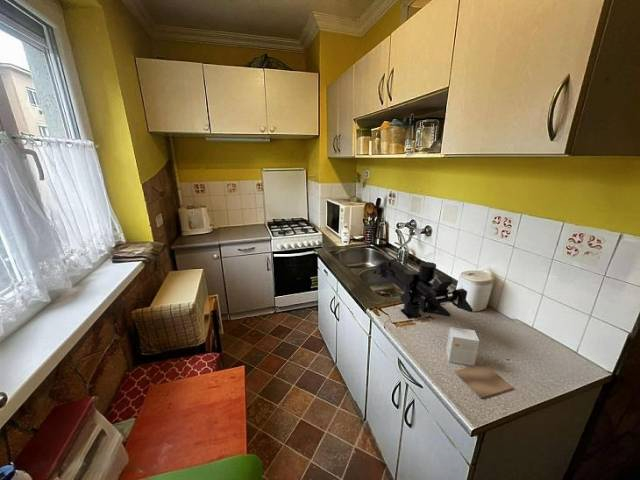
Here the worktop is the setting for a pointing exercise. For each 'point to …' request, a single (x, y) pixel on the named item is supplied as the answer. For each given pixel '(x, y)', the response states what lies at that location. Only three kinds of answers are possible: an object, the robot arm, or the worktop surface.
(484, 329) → the worktop surface
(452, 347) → the small box
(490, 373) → the brown coaster
